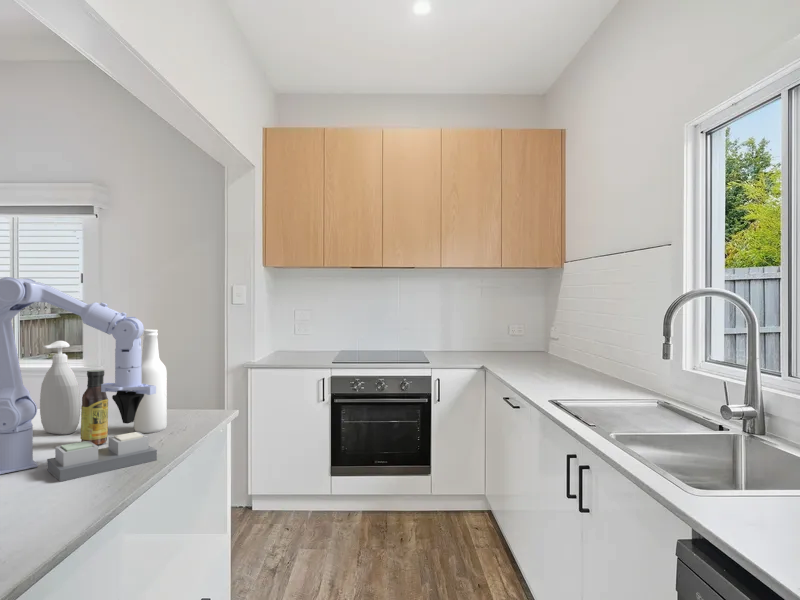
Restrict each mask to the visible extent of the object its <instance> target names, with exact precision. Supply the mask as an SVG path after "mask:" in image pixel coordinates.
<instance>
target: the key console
mask: <svg viewBox="0 0 800 600" xmlns="http://www.w3.org/2000/svg"><path fill="white" fill-rule="evenodd" d="M137 433H139V434H141V435H143V437H142V438H136V439H131V440H126V441H121V442H120V441H118V440H116V439H115V438H114V436H115V435H113V436H109V437H108V447H103V448H99V445H95V444H94V443H92V442H90V441H87V442H88V443H90V444H92V445H93V447H89V448H84V449H78V450H73V451H68V452H65V451H64V450H63V449H61V445H57V446H55V453H54V454H55V457H50V458H47V459H46V460H47V461H46V462H47V465H46V467H47V468H46V469H47V471H48V473H50V474H51V475H52V476H53V477H54V478H56V479H57V481H59V482H60V483H61V482H66V481H70V480H73V479H74V480H75V479H80V478H83V477H87V476H92V475H96V474H100V473H101V474H102V473H105V472H109V471H115V470H119V469H124V468H127V467H132V466H137V465H141V464H145V463H149V462H156V461H157V458H158V456H157V451H158V449H156V448H154V447H152V446H150V445H149V442H150V441H149V440H150V439H149V438H150V437H149V436H148V435H146V434H145V433H140V432H137Z"/></svg>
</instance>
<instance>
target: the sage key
mask: <svg viewBox="0 0 800 600" xmlns="http://www.w3.org/2000/svg"><path fill="white" fill-rule="evenodd" d="M60 446H61V449H63V450H64V451H65V452H68V451H73V450H78V449H84V448H89V447H93V445H92V444H90V443H88V442H87V441H83V442H81V441H79V442H73V443H67V444H62V445H60Z"/></svg>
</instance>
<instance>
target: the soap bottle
mask: <svg viewBox="0 0 800 600" xmlns="http://www.w3.org/2000/svg"><path fill="white" fill-rule="evenodd" d="M69 347H71V346H70V343H68V342H67V341H65V340H56V341H53V342H52V343H50V344H47V345H42V348H43V349H57V353H55V354H53V355H52V364H51V365H50V367H49V369H48V371H47V372H46V373H45V375H44V378H43V379H42V382H41V388H40V395H39V396H40V397H39V413H40V414H39V415H40V422H41V425H42V428H43V430H44V432H46V433H49V434H52V435H71V434H74V433H75V432H76V431H77V429H78V427H79V424H80V421H81V394H80V387H79V386H80V384H79V382H78V379H77V376H76V374H75V372H74V370H72V368H71V367H70V365H69V363H68V355H67V354H66V353H63V348H69Z"/></svg>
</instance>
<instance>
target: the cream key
mask: <svg viewBox="0 0 800 600" xmlns="http://www.w3.org/2000/svg"><path fill="white" fill-rule="evenodd" d="M113 436H114V438H115V439H116V440H118V441H120V442H121V441H126V440H131V439H136V438H142V437H143V435H141V434H139V433H137V432H136V431H134V432H129V433H122V434H117V435H116V434H115V435H113Z"/></svg>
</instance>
